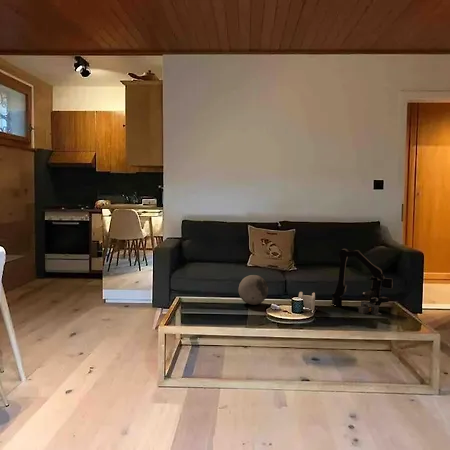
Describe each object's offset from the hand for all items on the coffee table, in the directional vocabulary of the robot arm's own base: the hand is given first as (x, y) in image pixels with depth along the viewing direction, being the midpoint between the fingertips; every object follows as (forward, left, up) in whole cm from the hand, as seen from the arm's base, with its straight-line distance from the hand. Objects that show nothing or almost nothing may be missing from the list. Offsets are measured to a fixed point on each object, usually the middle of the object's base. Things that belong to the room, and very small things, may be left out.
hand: (374, 309), depth 356 cm
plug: (0, -5, -1) cm, 5 cm away
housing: (0, -4, -1) cm, 5 cm away
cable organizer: (-16, -45, -1) cm, 48 cm away
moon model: (-43, -70, -1) cm, 82 cm away
